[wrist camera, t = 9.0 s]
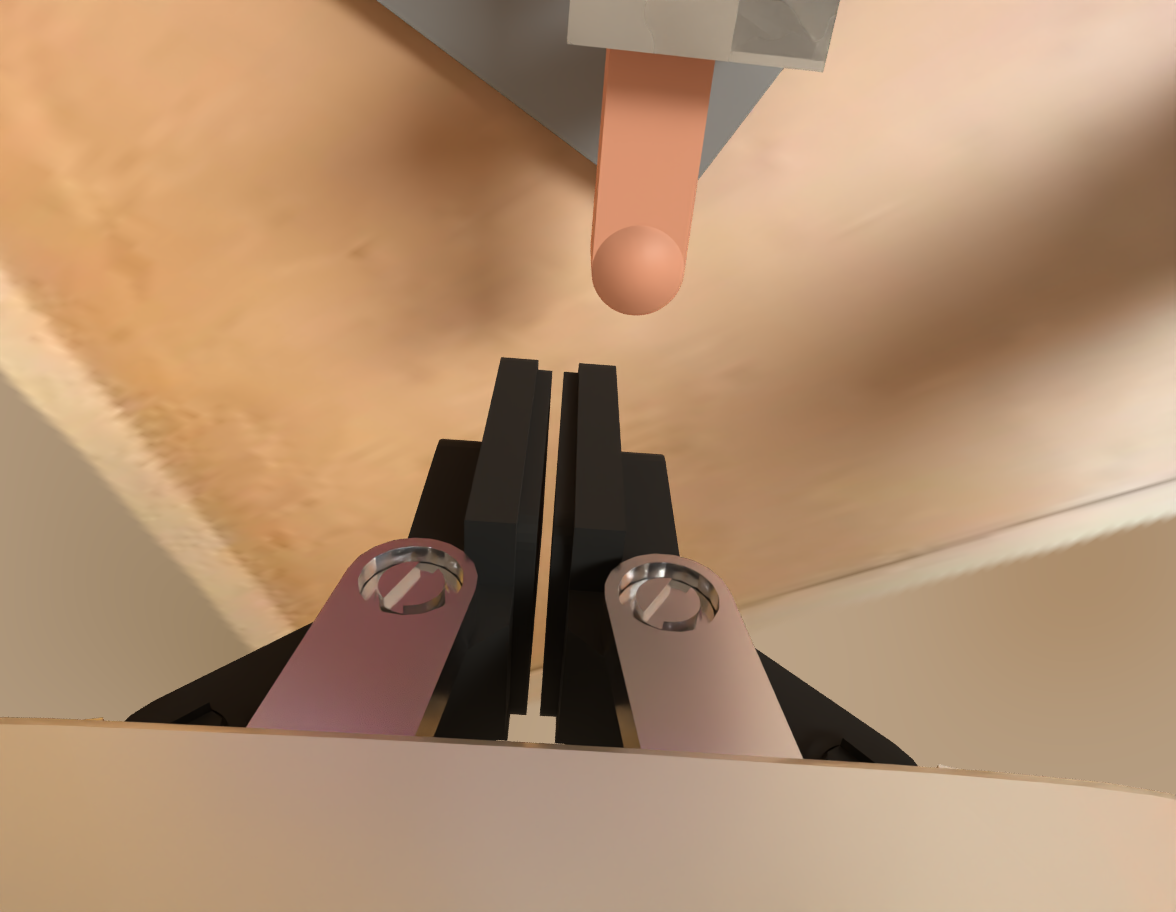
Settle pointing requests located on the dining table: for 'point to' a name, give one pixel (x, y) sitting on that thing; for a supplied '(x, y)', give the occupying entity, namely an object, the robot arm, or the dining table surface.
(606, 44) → the block
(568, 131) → the board
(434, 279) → the dining table surface
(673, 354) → the dining table surface
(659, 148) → the latch arm
